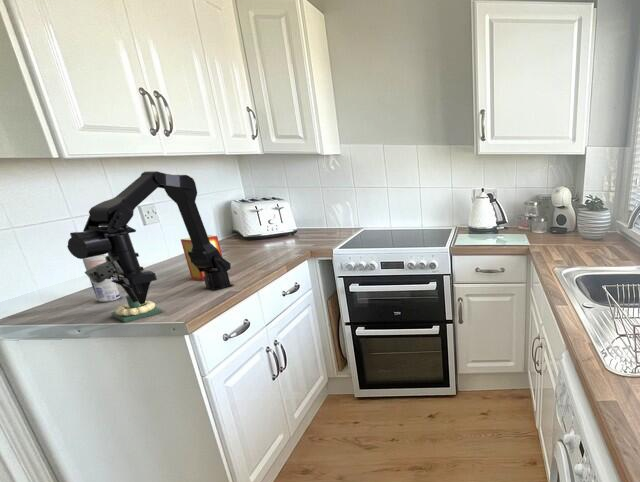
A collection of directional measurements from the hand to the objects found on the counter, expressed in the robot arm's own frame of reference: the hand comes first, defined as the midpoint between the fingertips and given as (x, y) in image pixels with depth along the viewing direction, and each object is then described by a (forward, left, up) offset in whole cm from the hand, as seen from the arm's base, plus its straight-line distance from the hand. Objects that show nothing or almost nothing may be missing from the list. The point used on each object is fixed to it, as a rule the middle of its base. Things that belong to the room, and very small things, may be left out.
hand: (139, 302), depth 122 cm
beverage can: (-1, -29, -5) cm, 30 cm away
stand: (0, -4, -5) cm, 7 cm away
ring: (0, -4, -2) cm, 5 cm away
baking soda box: (-32, -30, -5) cm, 44 cm away
